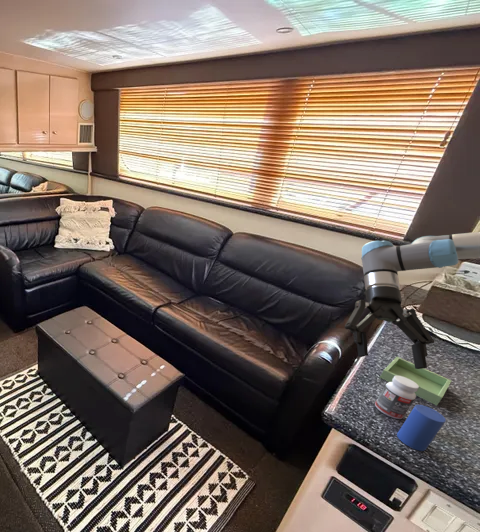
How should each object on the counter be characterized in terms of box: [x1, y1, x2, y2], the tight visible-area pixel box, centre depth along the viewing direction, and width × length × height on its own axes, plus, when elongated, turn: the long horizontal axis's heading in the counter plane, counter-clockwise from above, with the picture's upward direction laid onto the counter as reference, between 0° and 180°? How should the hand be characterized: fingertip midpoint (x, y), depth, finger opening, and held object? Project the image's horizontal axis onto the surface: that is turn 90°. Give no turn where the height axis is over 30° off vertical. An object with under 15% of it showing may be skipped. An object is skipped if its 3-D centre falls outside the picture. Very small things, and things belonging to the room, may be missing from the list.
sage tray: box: [379, 356, 453, 406], centre depth 96 cm, size 13×15×3 cm
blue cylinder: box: [396, 404, 447, 452], centre depth 73 cm, size 5×5×9 cm
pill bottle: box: [374, 376, 419, 420], centre depth 82 cm, size 6×6×10 cm
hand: (391, 362), depth 86 cm, fingers open, 13 cm apart
